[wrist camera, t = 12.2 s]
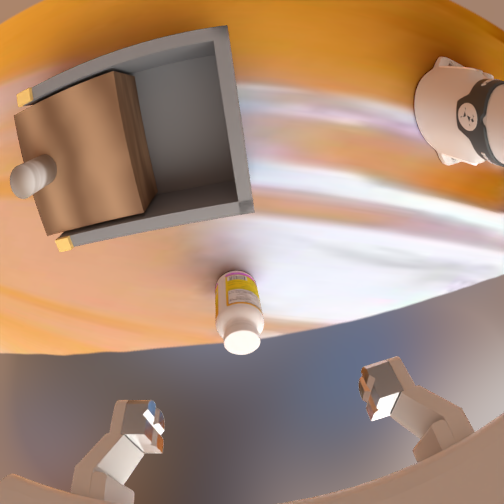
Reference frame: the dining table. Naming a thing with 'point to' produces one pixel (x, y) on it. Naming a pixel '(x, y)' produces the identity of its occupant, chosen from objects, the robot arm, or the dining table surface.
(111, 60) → the bay
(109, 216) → the wooden block with knob
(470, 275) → the dining table surface
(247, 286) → the supplement bottle
